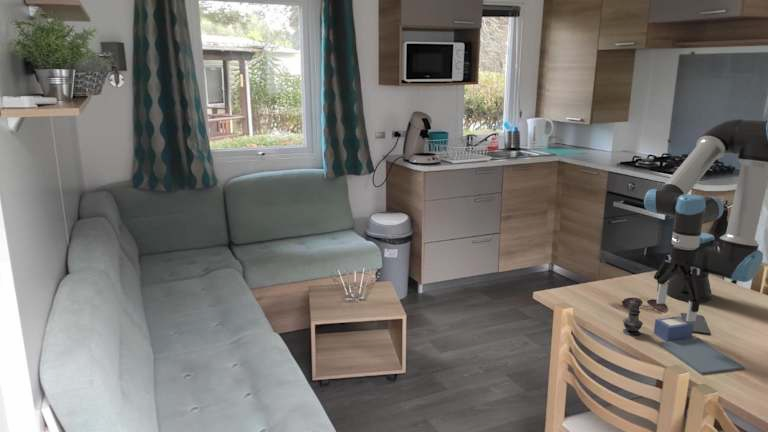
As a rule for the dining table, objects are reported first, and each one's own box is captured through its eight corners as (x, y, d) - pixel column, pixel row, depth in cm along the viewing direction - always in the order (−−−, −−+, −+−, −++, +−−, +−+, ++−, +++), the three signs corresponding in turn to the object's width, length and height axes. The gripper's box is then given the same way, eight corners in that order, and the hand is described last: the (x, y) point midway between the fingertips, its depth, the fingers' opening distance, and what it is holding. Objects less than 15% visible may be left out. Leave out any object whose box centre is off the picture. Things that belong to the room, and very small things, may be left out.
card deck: (677, 330, 188) (679, 316, 186) (691, 339, 182) (693, 324, 181) (653, 334, 186) (655, 319, 184) (666, 342, 180) (668, 327, 179)
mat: (698, 339, 181) (698, 337, 181) (744, 368, 164) (744, 366, 164) (658, 344, 178) (658, 342, 178) (701, 374, 161) (701, 372, 161)
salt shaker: (631, 338, 183) (636, 302, 179) (617, 330, 188) (621, 295, 185) (645, 334, 185) (650, 299, 182) (631, 327, 190) (635, 292, 187)
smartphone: (702, 315, 198) (710, 333, 184) (702, 317, 198) (710, 336, 184) (680, 312, 200) (686, 330, 186) (680, 314, 200) (685, 332, 187)
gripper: (647, 235, 187) (639, 297, 192) (704, 260, 164) (693, 329, 169) (667, 234, 189) (659, 295, 194) (727, 258, 165) (715, 327, 170)
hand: (675, 311), depth 181 cm, fingers open, 13 cm apart
